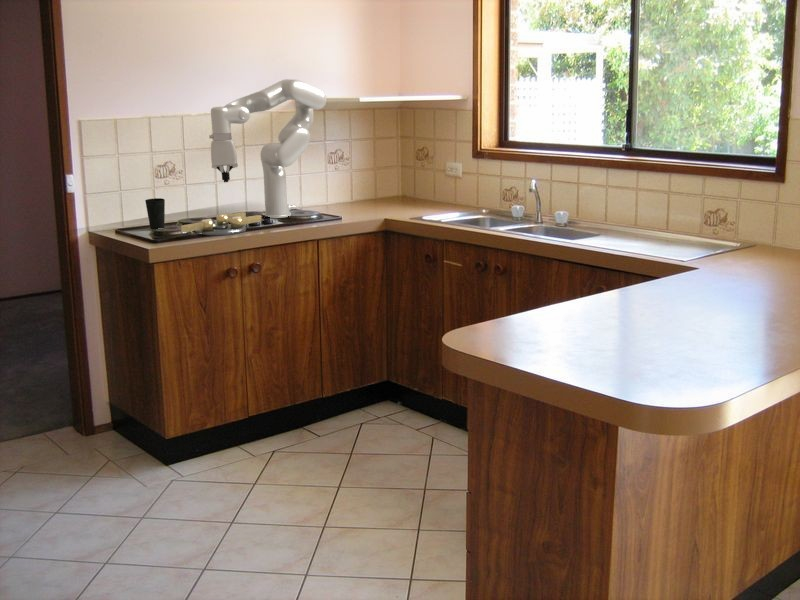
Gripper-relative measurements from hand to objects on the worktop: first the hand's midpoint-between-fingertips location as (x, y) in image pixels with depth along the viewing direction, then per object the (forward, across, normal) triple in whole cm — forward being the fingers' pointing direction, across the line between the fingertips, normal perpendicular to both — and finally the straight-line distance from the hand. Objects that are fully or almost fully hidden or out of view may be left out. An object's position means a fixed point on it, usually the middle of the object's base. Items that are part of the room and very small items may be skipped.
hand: (226, 181), depth 376 cm
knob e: (+15, -10, -25) cm, 31 cm away
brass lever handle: (+16, +8, -15) cm, 23 cm away
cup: (+17, -28, -10) cm, 34 cm away
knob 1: (+16, +2, -8) cm, 18 cm away
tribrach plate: (+17, -2, -18) cm, 25 cm away
